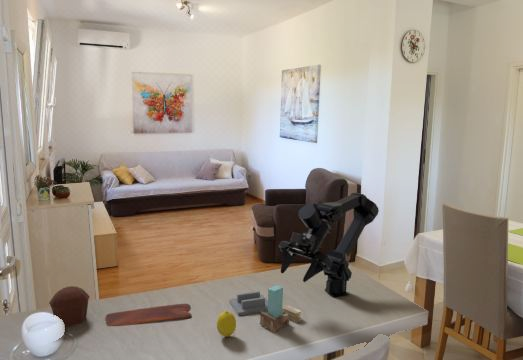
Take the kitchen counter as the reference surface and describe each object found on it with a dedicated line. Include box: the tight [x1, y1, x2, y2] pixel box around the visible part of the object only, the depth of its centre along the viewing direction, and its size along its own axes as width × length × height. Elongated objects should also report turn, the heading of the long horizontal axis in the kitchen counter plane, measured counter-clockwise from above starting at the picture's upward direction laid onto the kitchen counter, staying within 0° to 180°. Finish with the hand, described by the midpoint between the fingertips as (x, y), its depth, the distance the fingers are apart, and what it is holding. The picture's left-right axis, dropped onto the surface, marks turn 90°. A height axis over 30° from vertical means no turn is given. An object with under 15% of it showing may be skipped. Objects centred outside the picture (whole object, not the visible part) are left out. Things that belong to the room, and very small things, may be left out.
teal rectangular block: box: [267, 284, 284, 318], centre depth 129 cm, size 4×2×12 cm, turn 135°
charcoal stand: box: [229, 290, 268, 316], centre depth 141 cm, size 12×10×4 cm
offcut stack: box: [282, 304, 303, 324], centre depth 135 cm, size 3×8×3 cm, turn 47°
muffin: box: [48, 285, 90, 328], centre depth 130 cm, size 12×11×10 cm
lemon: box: [216, 310, 237, 338], centre depth 122 cm, size 6×6×8 cm
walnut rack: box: [259, 311, 290, 333], centre depth 129 cm, size 7×6×4 cm
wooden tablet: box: [104, 303, 192, 327], centre depth 134 cm, size 27×10×2 cm, turn 105°
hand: (292, 276), depth 133 cm, fingers open, 9 cm apart
